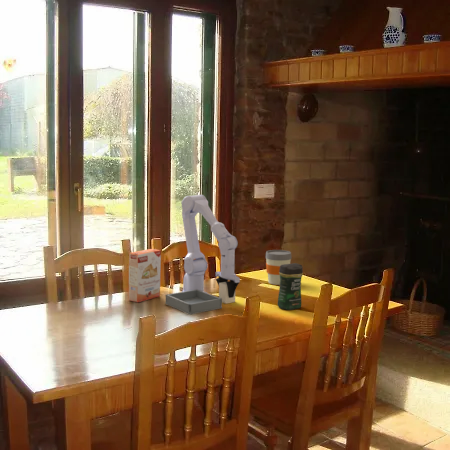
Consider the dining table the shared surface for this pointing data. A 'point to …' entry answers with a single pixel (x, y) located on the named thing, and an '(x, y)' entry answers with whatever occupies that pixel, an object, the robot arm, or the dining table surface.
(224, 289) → the carton
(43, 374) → the dining table surface
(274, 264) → the reusable coffee cup
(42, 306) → the dining table surface
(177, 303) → the tray
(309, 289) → the dining table surface
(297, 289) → the coffee jar
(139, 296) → the cracker box
